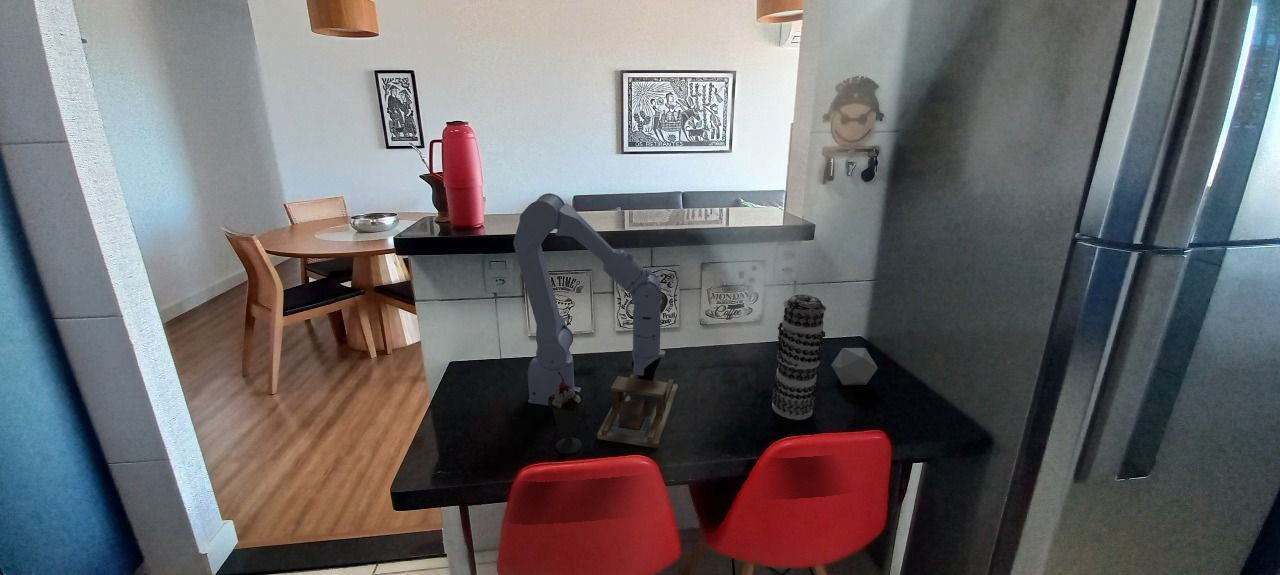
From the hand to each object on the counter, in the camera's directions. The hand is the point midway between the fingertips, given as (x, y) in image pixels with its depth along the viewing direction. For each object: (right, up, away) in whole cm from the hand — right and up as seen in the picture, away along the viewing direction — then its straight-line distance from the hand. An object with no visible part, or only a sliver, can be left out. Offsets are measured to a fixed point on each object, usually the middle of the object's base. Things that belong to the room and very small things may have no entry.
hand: (646, 388), depth 109 cm
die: (+48, 0, +8) cm, 49 cm away
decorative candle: (+31, -4, -2) cm, 31 cm away
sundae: (-15, -8, -14) cm, 22 cm away
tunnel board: (-1, -4, -4) cm, 6 cm away
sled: (-2, -4, -7) cm, 8 cm away
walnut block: (-3, -5, -11) cm, 13 cm away
